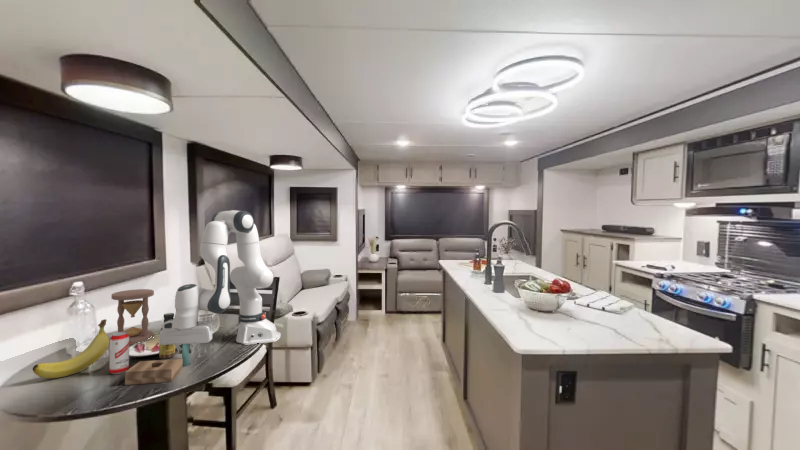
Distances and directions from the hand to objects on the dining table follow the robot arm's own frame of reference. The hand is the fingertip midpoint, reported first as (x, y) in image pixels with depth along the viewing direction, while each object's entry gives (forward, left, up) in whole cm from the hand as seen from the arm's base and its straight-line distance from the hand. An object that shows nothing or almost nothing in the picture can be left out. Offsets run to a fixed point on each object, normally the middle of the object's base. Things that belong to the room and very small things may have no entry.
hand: (186, 353), depth 147 cm
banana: (+41, +2, -5) cm, 41 cm away
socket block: (+7, +11, -5) cm, 14 cm away
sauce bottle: (+12, -11, -5) cm, 17 cm away
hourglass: (+40, -38, -5) cm, 55 cm away
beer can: (+24, +3, -5) cm, 25 cm away
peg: (0, 0, -5) cm, 5 cm away
